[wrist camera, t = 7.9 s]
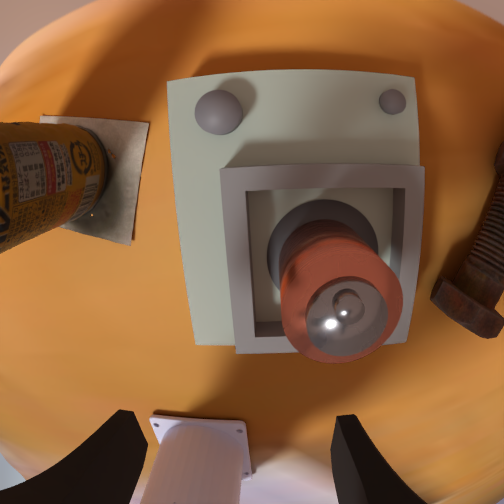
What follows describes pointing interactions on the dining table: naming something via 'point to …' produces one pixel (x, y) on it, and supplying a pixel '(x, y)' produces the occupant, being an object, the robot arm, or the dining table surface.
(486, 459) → the dining table surface
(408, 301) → the button control panel
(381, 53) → the dining table surface
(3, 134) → the yellow metal cylinder
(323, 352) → the orange short cylinder
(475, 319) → the bolt
